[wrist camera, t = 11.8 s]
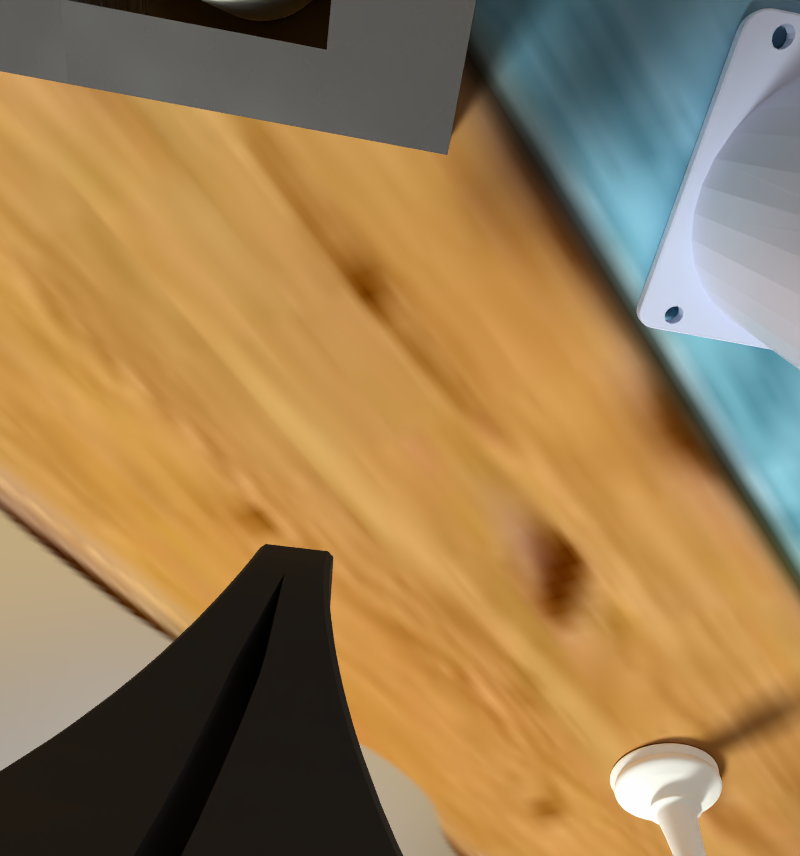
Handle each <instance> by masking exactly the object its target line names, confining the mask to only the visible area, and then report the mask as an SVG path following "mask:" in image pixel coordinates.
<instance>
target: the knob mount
mask: <svg viewBox="0 0 800 856" xmlns="http://www.w3.org/2000/svg"><path fill="white" fill-rule="evenodd" d="M475 4H476V0H331V9H330V20H329V31H328V41H327V50H325V49H320V48H315V47H310V46H305V45H299V44H294V43H289V42H284V41H278V40H273V39H268V38H263V37H257V36H252V35H247V34H242V33H236V32H231V31H226V30H221V29H216V28H210V27H205V26H200V25H195V24H189V23H184V22H179V21H174V20H168V19H163V18H158V17H153V16H148V15H146V4H145V0H0V71H3V72H8V73H13V74H19V75H24V76H29V77H35V78H40V79H45V80H51V81H56V82H61V83H67V84H72V85H77V86H83V87H88V88H93V89H99V90H104V91H109V92H115V93H120V94H125V95H131V96H136V97H141V98H147V99H152V100H157V101H163V102H168V103H173V104H179V105H184V106H189V107H195V108H200V109H205V110H211V111H216V112H221V113H227V114H232V115H237V116H243V117H248V118H253V119H259V120H264V121H269V122H275V123H280V124H285V125H291V126H296V127H301V128H307V129H312V130H317V131H323V132H328V133H333V134H339V135H344V136H349V137H355V138H360V139H365V140H371V141H376V142H381V143H387V144H392V145H398V146H403V147H408V148H414V149H419V150H424V151H430V152H435V153H440V154H446V155H447V154H448V149H449V143H450V138H451V133H452V127H453V122H454V117H455V111H456V106H457V101H458V95H459V90H460V84H461V79H462V74H463V68H464V63H465V58H466V52H467V47H468V41H469V36H470V31H471V25H472V20H473V15H474V9H475Z"/></svg>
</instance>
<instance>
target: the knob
mask: <svg viewBox="0 0 800 856" xmlns="http://www.w3.org/2000/svg"><path fill="white" fill-rule="evenodd" d="M201 1H203V2H205V3H208V4H210V5H212V6H214V7H216V8H219V9H221V10H223V11H225V12H228V13H230V14H232V15H234V16H237V17H240V18H244V19H248V20H255V21H271V20H276V19H280V18H284V17H286V16H289V15H291V14H293V13H295V12H297V11H299V10H300V9H302V8H303V7H305V6H306V5H307V4H308V3H310V2H311V1H312V0H201Z"/></svg>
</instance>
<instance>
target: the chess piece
mask: <svg viewBox="0 0 800 856" xmlns="http://www.w3.org/2000/svg"><path fill="white" fill-rule="evenodd" d="M610 784H611V787H612V789H613V791H614V793H615V797H616V799H617V801H618V803H619V804H620V805H621V806H622V808H624V809H625V810H626V811H627V812H629V813H631V814H632V815H635V816H637V817H639V818H643V819H646V820H652V821H653V822H655V823H657V824H659V825H660V827H661V829H662V831H663V833H664V835H665V837H666V840H667V842H668V844H669V846H670V849H671V851H672V853H673V856H706V853H705V849H704V845H703V840H702V836H701V832H700V827H699V822H698V818H699V817H700V815H701V814H702V812H704V811H705V810H707V809H708V808H710V807H711V806H712V805H713V804H714V803H715V802H716V801H717V799H718V798H719V796H720V794H721V790H722V780H721V777H720V775H719V769H718V766H717V764H716V762H715V760H714V759H713V758H712V757H711V756H710V755H709V754H707V753H706V752H704V751H702V750H700V749H698V748H696V747H693V746H689V745H684V744H676V743H663V744H655V745H650V746H646V747H642V748H639V749H637V750H635V751H632V752H631V753H629V754H627V755H626V756H624V757H623V758H622V759H620V760H619V761H618V762H617V763H616V765H615V766H614V768H613V769H612V772H611V775H610Z"/></svg>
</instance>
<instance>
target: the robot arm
mask: <svg viewBox="0 0 800 856" xmlns="http://www.w3.org/2000/svg"><path fill="white" fill-rule="evenodd" d="M779 26H782V27H784V28H785V29H786V32H787V38H786V41H785V43H784V44H783V46H782V47H781V48H779V49H777V48H775V47H774V46H773V44H772V36H773V33H774V32H775V30H776V28H778V27H779ZM675 306H678V308H679V311H678V314H677V315H676V317H674V318H672V319H669V320H666V319H665V313H666V312H667V310H668V309H669V308H671V307H675ZM637 315H638V318H639V319H640V320H641V321H642V323H643V324H644V325H646V326H648V327H650V328H656V329H661V330H667V331H672V332H678V333H683V334H689V335H694V336H700V337H705V338H711V339H716V340H722V341H727V342H733V343H738V344H744V345H749V346H755V347H760V348H766V349H771V350H773V351H775V352H776V353H777V354H779V355H780V356H782V357H783V358H784V359H786V360H787V361H788V362H790V363H791V364H793V365H794V366H795V367H797V368H798V369H799V370H800V14H799V13H794V12H789V11H784V10H779V9H774V8H763V9H760V10H757V11H755V12H753V13H751V14H749V15H748V16H747V17H746V18H745V19H744V20H743V21H742V22H741V24H740V26H739V27H738V29H737V31H736V34H735V37H734V40H733V43H732V45H731V48H730V51H729V54H728V56H727V59H726V62H725V65H724V67H723V70H722V73H721V76H720V79H719V81H718V84H717V87H716V90H715V92H714V95H713V98H712V101H711V103H710V106H709V109H708V112H707V115H706V117H705V120H704V123H703V126H702V128H701V131H700V134H699V137H698V139H697V142H696V145H695V148H694V151H693V153H692V156H691V159H690V162H689V164H688V167H687V170H686V173H685V175H684V178H683V181H682V184H681V187H680V189H679V192H678V195H677V198H676V200H675V203H674V206H673V209H672V211H671V214H670V217H669V220H668V223H667V225H666V228H665V231H664V234H663V236H662V239H661V242H660V245H659V248H658V250H657V253H656V256H655V259H654V261H653V264H652V267H651V270H650V272H649V275H648V278H647V281H646V284H645V286H644V289H643V292H642V295H641V297H640V300H639V303H638V306H637ZM332 569H333V556H332V555H331V554H330V553H329V552H328V551H320V550H311V549H303V548H294V547H286V546H277V545H269V544H265V545H264V546H262V547H261V548H260V549H259V550H258V551H257V552H256V554H255V555H254V556H253V558H252V559H251V560H250V561H249V562H248V564H247V565H246V566H245V567H244V568H243V570H242V571H241V572H240V573H239V574H238V575H237V577H236V578H235V579H234V580H233V581H232V582H231V583H230V585H229V586H228V587H227V588H226V589H225V590H224V591H223V592H222V593H221V594H220V595H219V597H218V598H217V599H216V600H215V601H214V602H213V603H212V604H211V605H210V606H209V607H208V608H207V609H206V610H205V611H204V612H203V613H202V614H201V615H200V617H199V618H198V619H197V620H196V621H195V622H194V623H193V624H192V625H191V626H189V627H188V628H187V629H186V630H185V631H184V632H183V633H182V634H181V635H180V636H179V637H178V638H177V639H176V640H175V641H174V642H173V643H171V645H169V646H168V647H167V648H166V649H165V650H164V651H163V652H162V653H161V654H160V655H159V656H157V657H156V658H155V659H154V660H153V661H152V662H151V663H149V664H148V665H147V666H146V667H145V668H144V669H143V670H141V671H140V672H139V673H138V674H137V675H135V676H134V677H133V678H132V679H131V680H129V681H128V682H127V683H126V684H124V685H123V686H122V687H121V688H119V689H118V690H117V691H116V692H115V693H113V694H112V695H111V696H109V697H108V698H107V699H105V700H104V701H103V702H101V703H100V704H99V705H97V706H96V707H95V708H93V709H92V710H91V711H89V712H88V713H86V714H85V715H84V716H83V717H81V718H80V719H78V720H77V721H76V722H74V723H73V724H71V725H70V726H69V727H67V728H66V729H64V730H63V731H62V732H60V733H59V734H57V735H56V736H54V737H53V738H52V739H50V740H48V741H47V742H45V743H44V744H42V745H41V746H39V747H37V748H36V749H34V750H33V751H31V752H30V753H28V754H27V755H25V756H23V757H22V758H21V759H19V760H17V761H16V762H14V763H12V764H11V765H9V766H8V767H6V768H5V769H3V770H1V771H0V856H403V854H402V852H401V850H400V848H399V846H398V844H397V841H396V839H395V837H394V835H393V832H392V830H391V827H390V825H389V823H388V820H387V818H386V816H385V813H384V811H383V809H382V806H381V804H380V801H379V798H378V795H377V793H376V790H375V787H374V784H373V782H372V779H371V776H370V774H369V771H368V768H367V766H366V763H365V760H364V757H363V755H362V752H361V748H360V745H359V742H358V739H357V736H356V733H355V729H354V726H353V723H352V719H351V715H350V712H349V708H348V705H347V701H346V697H345V693H344V689H343V684H342V680H341V676H340V671H339V666H338V661H337V656H336V650H335V644H334V637H333V629H332V621H331V613H330V600H331V585H332Z"/></svg>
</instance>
